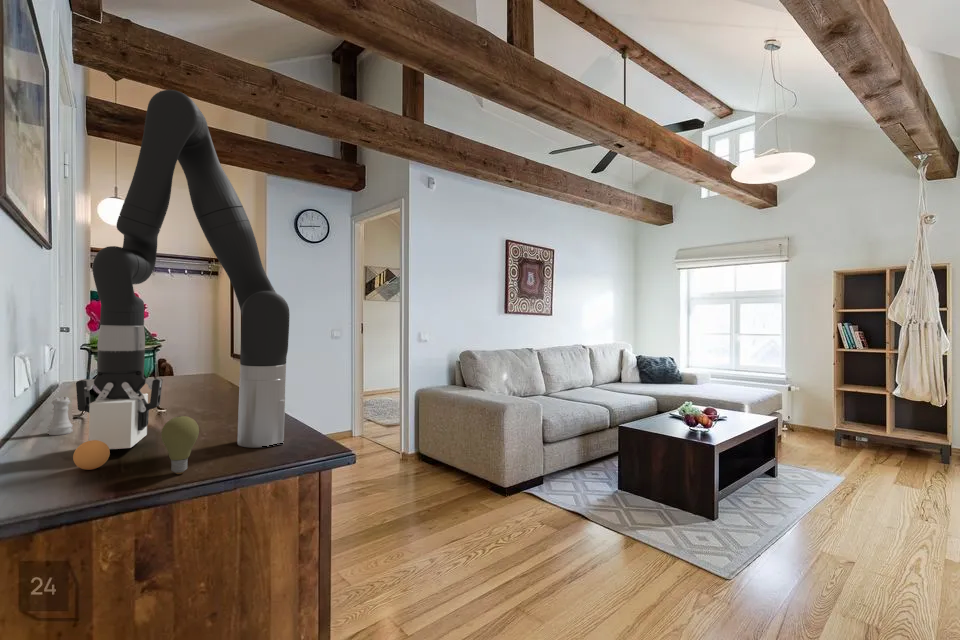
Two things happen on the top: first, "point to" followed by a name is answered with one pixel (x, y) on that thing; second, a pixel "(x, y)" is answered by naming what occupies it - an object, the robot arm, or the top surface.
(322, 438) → the top surface
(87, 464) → the orange egg
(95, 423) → the light gray block
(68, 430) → the rook chess piece
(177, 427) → the light bulb
